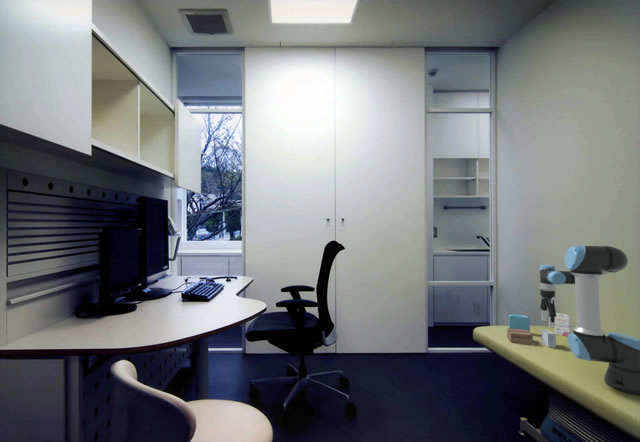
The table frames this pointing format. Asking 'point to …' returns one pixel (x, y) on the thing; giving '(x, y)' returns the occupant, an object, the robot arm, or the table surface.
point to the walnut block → (519, 336)
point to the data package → (519, 322)
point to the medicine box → (549, 338)
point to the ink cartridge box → (562, 324)
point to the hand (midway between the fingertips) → (548, 323)
